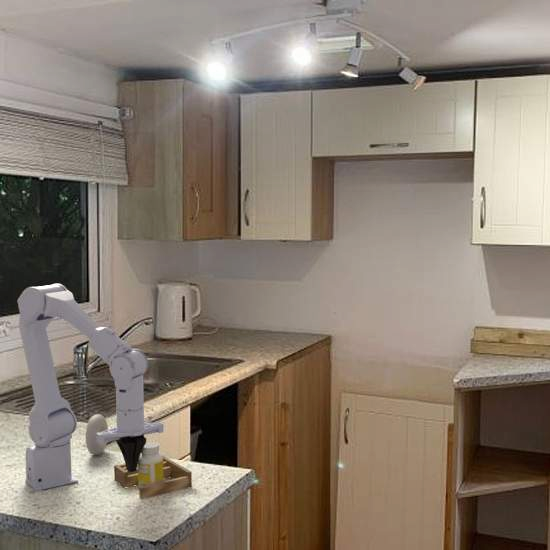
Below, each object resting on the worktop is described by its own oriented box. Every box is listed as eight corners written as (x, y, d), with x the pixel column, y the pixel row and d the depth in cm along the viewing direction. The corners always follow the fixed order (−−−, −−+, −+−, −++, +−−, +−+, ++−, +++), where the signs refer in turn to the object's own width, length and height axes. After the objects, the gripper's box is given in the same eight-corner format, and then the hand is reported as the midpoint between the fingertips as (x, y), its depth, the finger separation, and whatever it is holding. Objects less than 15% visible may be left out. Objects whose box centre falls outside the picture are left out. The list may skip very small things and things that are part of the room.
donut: (97, 447, 192) (96, 409, 191) (110, 448, 192) (109, 409, 191) (84, 460, 182) (82, 420, 181) (97, 460, 182) (96, 420, 181)
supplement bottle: (162, 483, 166) (161, 440, 165) (165, 492, 160) (164, 447, 160) (137, 486, 164) (136, 442, 164) (139, 495, 159) (138, 449, 158)
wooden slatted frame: (141, 499, 157) (140, 483, 156) (114, 480, 168) (114, 465, 168) (191, 487, 163) (191, 471, 163) (162, 469, 175) (162, 455, 175)
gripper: (105, 417, 151) (106, 482, 152) (169, 406, 160) (170, 468, 161) (92, 410, 157) (93, 473, 158) (154, 399, 165) (155, 460, 167)
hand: (131, 470), depth 160 cm, fingers closed
